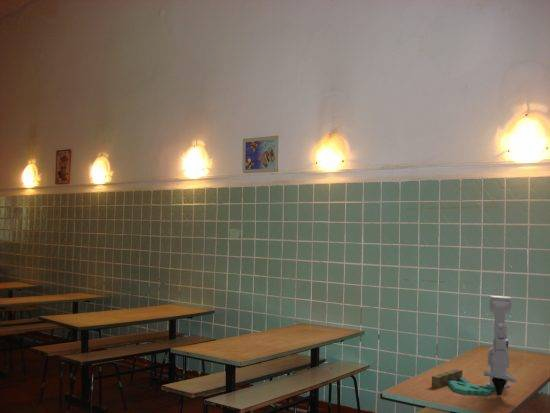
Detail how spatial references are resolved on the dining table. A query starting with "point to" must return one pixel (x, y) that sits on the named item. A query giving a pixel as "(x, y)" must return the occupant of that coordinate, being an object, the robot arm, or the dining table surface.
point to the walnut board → (446, 378)
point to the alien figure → (469, 387)
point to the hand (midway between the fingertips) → (499, 394)
